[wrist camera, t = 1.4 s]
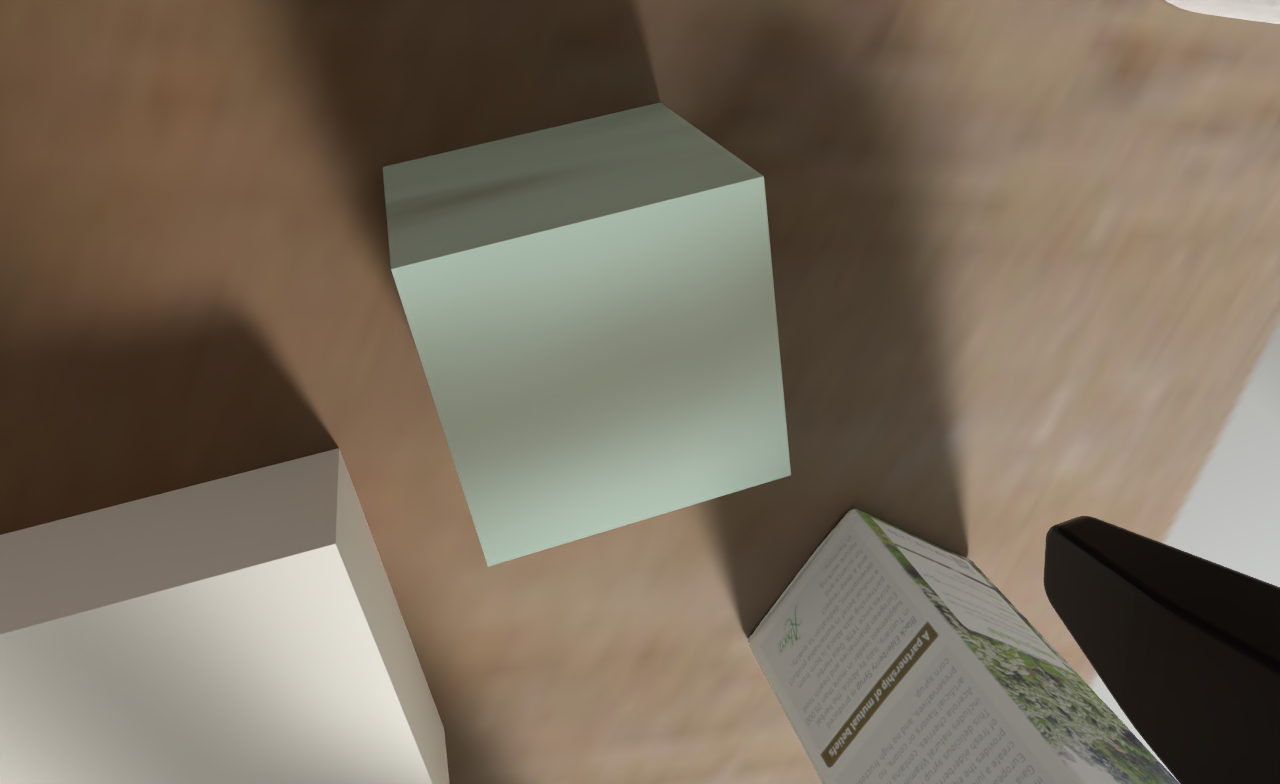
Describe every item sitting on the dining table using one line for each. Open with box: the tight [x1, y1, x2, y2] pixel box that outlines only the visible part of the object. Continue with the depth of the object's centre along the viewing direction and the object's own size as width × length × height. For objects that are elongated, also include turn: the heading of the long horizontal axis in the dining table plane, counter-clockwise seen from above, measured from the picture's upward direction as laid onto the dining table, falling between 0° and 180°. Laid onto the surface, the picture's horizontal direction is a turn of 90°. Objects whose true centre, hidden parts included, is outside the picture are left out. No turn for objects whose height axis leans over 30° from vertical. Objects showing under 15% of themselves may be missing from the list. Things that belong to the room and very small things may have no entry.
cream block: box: [0, 448, 449, 784], centre depth 22 cm, size 10×10×4 cm
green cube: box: [383, 102, 791, 566], centre depth 18 cm, size 6×6×6 cm
